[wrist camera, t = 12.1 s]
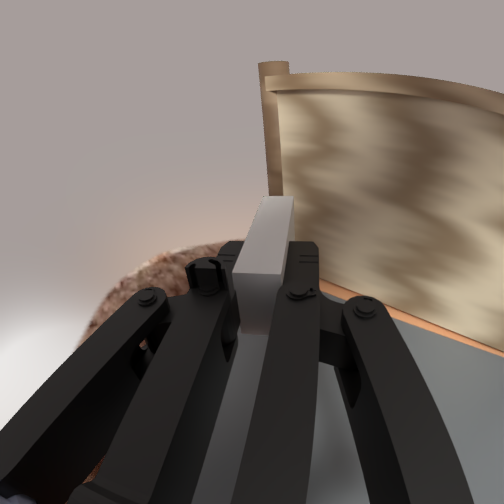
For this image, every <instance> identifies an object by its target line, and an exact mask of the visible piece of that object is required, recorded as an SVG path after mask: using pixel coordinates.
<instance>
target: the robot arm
mask: <svg viewBox="0 0 504 504" xmlns="http://www.w3.org/2000/svg"><path fill="white" fill-rule="evenodd" d="M185 270H186V274H187V278H188V282H189V286H190V289H189V291H188V293H187V294H185V295H180V296H174V297H167V295H166V293H165V291H164V290H163V289H161V288H158V287H149V288H145V289H142V290H140V291H138V292H137V293H135V294H134V295H133V296H132V297H131V298H130V299H128V300H127V301H126V302H125V303H124V304H123V305H122V306H121V307H120V308H119V309H118V310H117V311H116V312H115V313H114V314H113V315H111V316H110V317H109V318H108V319H107V320H106V321H105V322H104V323H103V324H102V325H101V326H100V327H99V328H98V329H97V330H96V331H95V332H94V333H93V334H92V335H91V336H90V337H89V338H88V339H87V340H86V341H85V342H84V343H83V344H82V345H81V346H80V347H79V348H78V349H77V350H76V351H75V352H74V353H73V354H72V355H71V356H70V357H69V358H68V359H67V360H66V361H65V362H64V363H63V364H62V365H61V366H60V367H59V368H58V369H57V370H56V371H55V372H54V373H53V374H52V375H51V376H50V377H49V378H48V380H46V381H45V382H44V383H43V385H42V386H41V387H40V388H39V389H38V390H37V391H36V392H35V393H34V394H33V395H32V396H31V397H30V398H29V400H28V401H27V402H26V403H25V404H24V405H23V406H22V407H21V408H20V410H18V412H17V413H16V414H15V415H14V416H13V417H12V419H10V421H9V422H8V423H7V424H6V425H5V426H4V427H3V429H2V430H1V431H0V504H65V503H66V502H67V501H68V502H67V504H191V503H192V499H193V496H194V493H195V490H196V486H197V483H198V480H199V477H200V473H201V470H202V467H203V463H204V460H205V457H206V453H207V450H208V447H209V443H210V440H211V437H212V433H213V430H214V427H215V423H216V420H217V417H218V413H219V410H220V406H221V403H222V400H223V396H224V393H225V389H226V386H227V382H228V379H229V376H230V372H231V369H232V365H233V362H234V358H235V355H236V351H237V348H238V335H237V332H238V329H239V326H240V328H241V334H250V335H264V336H269V337H268V342H267V347H266V352H265V356H264V361H263V366H262V371H261V376H260V380H259V385H258V390H257V394H256V399H255V403H254V408H253V412H252V417H251V421H250V426H249V430H248V434H247V439H246V443H245V447H244V451H243V455H242V460H241V464H240V468H239V472H238V476H237V480H236V484H235V488H234V492H233V496H232V500H231V503H230V504H306V498H307V491H308V483H309V476H310V467H311V458H312V449H313V439H314V428H315V416H316V402H317V386H318V367H319V362H322V363H325V364H328V365H332V366H334V371H335V375H336V378H337V381H338V385H339V388H340V391H341V395H342V398H343V402H344V405H345V409H346V412H347V416H348V419H349V423H350V427H351V430H352V434H353V438H354V441H355V445H356V449H357V453H358V457H359V461H360V465H361V468H362V472H363V477H364V481H365V485H366V489H367V493H368V497H369V502H370V504H474V501H473V498H472V495H471V491H470V488H469V485H468V482H467V480H466V477H465V474H464V471H463V468H462V466H461V463H460V460H459V457H458V455H457V452H456V450H455V447H454V445H453V442H452V440H451V437H450V435H449V432H448V430H447V428H446V425H445V423H444V421H443V418H442V416H441V414H440V412H439V409H438V407H437V405H436V403H435V401H434V399H433V396H432V394H431V392H430V390H429V388H428V386H427V384H426V382H425V380H424V378H423V376H422V374H421V372H420V370H419V368H418V366H417V364H416V362H415V360H414V358H413V356H412V354H411V352H410V350H409V348H408V347H407V345H406V343H405V341H404V339H403V337H402V335H401V334H400V332H399V330H398V328H397V326H396V325H395V323H394V321H393V319H392V317H391V316H390V314H389V312H388V310H387V309H386V307H385V306H384V305H383V303H382V302H381V301H379V300H377V299H376V298H374V297H370V296H355V297H352V298H350V299H348V300H347V301H346V302H345V304H342V303H338V302H335V301H332V300H330V299H328V298H327V297H325V296H324V295H323V294H322V292H321V291H320V287H319V248H318V247H317V245H316V244H315V243H314V242H313V241H295V229H294V196H263V199H262V201H261V203H260V206H259V208H258V210H257V213H256V215H255V218H254V220H253V223H252V225H251V227H250V230H249V232H248V235H247V237H246V239H245V241H229V242H228V243H226V244H225V245H224V246H222V247H221V249H220V251H219V253H218V256H217V257H202V258H199V259H196V260H194V261H192V262H190V263H189V264H188V265H187V266H186V267H185ZM143 340H145V342H146V344H145V345H144V346H143V347H142V348H140V346H139V344H140V343H141V342H142V341H143ZM106 453H107V454H106ZM105 454H106V456H105V458H104V460H103V462H102V465H101V467H100V469H99V471H98V473H97V475H96V477H95V478H94V479H93V480H92V481H91V482H87V483H84V484H82V483H83V482H84V480H85V479H86V478H87V477H88V475H89V474H90V473H91V472H92V470H93V469H94V468H95V467H96V465H97V464H98V463H99V462H100V460H101V459H102V458H103V456H104V455H105Z"/></svg>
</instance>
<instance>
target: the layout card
mask: <svg viewBox="0 0 504 504" xmlns="http://www.w3.org/2000/svg"><path fill="white" fill-rule="evenodd" d="M319 287H320V291H321V292H322V294H323V295H324V296H325V297H327V298H328V299H330V300H332V301H335V302H338V303H342V304H345V302H346V301H347V300H348V299H350V298H352V297H355V296H364V295H362V294H359V293H357V292H354V291H352V290H349V289H347V288H344V287H342V286H339V285H337V284H334V283H332V282H329V281H327V280H324V279H322V278H319ZM383 305H384V306H385V307H386V309H387V310H388V312H389V314H390V316H391V317H392V319H393V321H394V323H395V325H396V326H397V328H398V330H399V332H400V334H401V335H402V337H403V339H404V341H405V343H406V345H407V347H408V348H409V350H410V352H411V354H412V356H413V358H414V360H415V362H416V364H417V366H418V368H419V370H420V372H421V374H422V376H423V378H424V380H425V382H426V384H427V386H428V388H429V390H430V392H431V394H432V396H433V399H434V401H435V403H436V405H437V407H438V409H439V412H440V414H441V416H442V418H443V421H444V423H445V425H446V428H447V430H448V432H449V435H450V437H451V440H452V442H453V445H454V447H455V450H456V452H457V455H458V457H459V460H460V463H461V466H462V468H463V471H464V474H465V477H466V480H467V482H468V485H469V488H470V491H471V495H472V498H473V501H474V504H504V352H503V351H501V350H498V349H496V348H493V347H491V346H488V345H486V344H483V343H481V342H478V341H476V340H473V339H471V338H469V337H466V336H464V335H461V334H459V333H456V332H454V331H451V330H449V329H446V328H444V327H441V326H439V325H436V324H434V323H431V322H429V321H426V320H424V319H421V318H419V317H416V316H414V315H411V314H409V313H406V312H404V311H401V310H399V309H396V308H394V307H391V306H389V305H386V304H384V303H383ZM237 335H238V348H237V351H236V355H235V358H234V362H233V365H232V369H231V372H230V376H229V379H228V382H227V386H226V389H225V393H224V396H223V400H222V403H221V406H220V410H219V413H218V417H217V420H216V423H215V427H214V430H213V433H212V437H211V440H210V443H209V447H208V450H207V453H206V457H205V460H204V463H203V467H202V470H201V473H200V477H199V480H198V483H197V486H196V490H195V493H194V496H193V499H192V503H191V504H230V503H231V500H232V496H233V492H234V488H235V484H236V480H237V476H238V472H239V468H240V464H241V460H242V455H243V451H244V447H245V443H246V439H247V434H248V430H249V426H250V421H251V417H252V412H253V408H254V403H255V399H256V394H257V390H258V385H259V380H260V376H261V371H262V366H263V361H264V356H265V352H266V347H267V342H268V337H269V336H264V335H250V334H241V328H240V326H239V329H238V332H237ZM306 504H370V502H369V497H368V493H367V489H366V485H365V481H364V477H363V472H362V468H361V465H360V461H359V457H358V453H357V449H356V445H355V441H354V438H353V434H352V430H351V427H350V423H349V419H348V416H347V412H346V409H345V405H344V402H343V398H342V395H341V391H340V388H339V385H338V381H337V378H336V375H335V371H334V366H332V365H328V364H325V363H322V362H319V367H318V386H317V402H316V416H315V428H314V439H313V449H312V458H311V467H310V476H309V483H308V491H307V498H306Z"/></svg>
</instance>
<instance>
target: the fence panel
mask: <svg viewBox="0 0 504 504" xmlns="http://www.w3.org/2000/svg"><path fill="white" fill-rule="evenodd" d="M258 68H259V79H260V89H261V101H262V112H263V124H264V136H265V148H266V161H267V174H268V188H269V196H294V229H295V241H313V242H314V243H315V244H316V245H317V247H318V248H319V278H322V279H324V280H327V281H329V282H332V283H334V284H337V285H339V286H342V287H344V288H347V289H349V290H352V291H354V292H357V293H359V294H362V295H364V296H370V297H374V298H376V299H377V300H379V301H381V302H382V303H384V304H386V305H389V306H391V307H394V308H396V309H399V310H401V311H404V312H406V313H409V314H411V315H414V316H416V317H419V318H421V319H424V320H426V321H429V322H431V323H434V324H436V325H439V326H441V327H444V328H446V329H449V330H451V331H454V332H456V333H459V334H461V335H464V336H466V337H469V338H471V339H473V340H476V341H478V342H481V343H483V344H486V345H488V346H491V347H493V348H496V349H498V350H501V351H503V352H504V94H502V93H499V92H495V91H491V90H487V89H483V88H479V87H475V86H470V85H465V84H461V83H456V82H449V81H444V80H438V79H431V78H424V77H416V76H407V75H397V74H382V73H361V72H359V73H358V72H323V73H322V72H321V73H299V74H289V62H286V61H270V62H262V63H258Z"/></svg>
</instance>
